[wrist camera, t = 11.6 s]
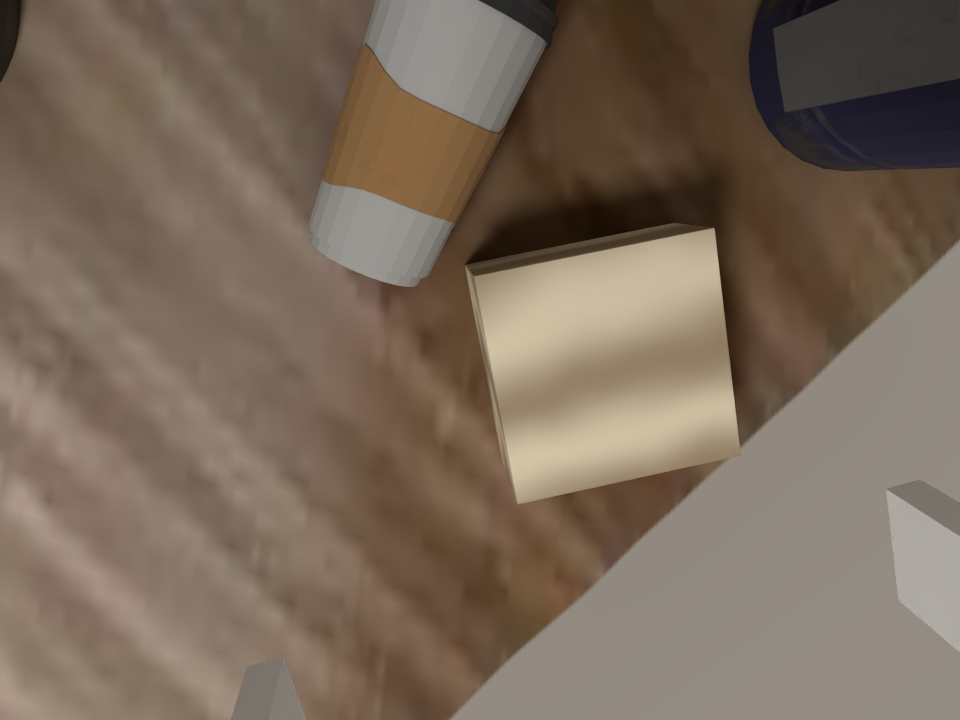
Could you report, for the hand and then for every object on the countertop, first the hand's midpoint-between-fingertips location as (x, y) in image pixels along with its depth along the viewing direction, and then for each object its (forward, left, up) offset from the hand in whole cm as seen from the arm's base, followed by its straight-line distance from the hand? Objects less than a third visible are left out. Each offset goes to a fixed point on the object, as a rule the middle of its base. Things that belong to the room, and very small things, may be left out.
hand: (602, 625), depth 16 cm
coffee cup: (-5, -6, -25) cm, 26 cm away
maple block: (0, +6, -29) cm, 29 cm away
